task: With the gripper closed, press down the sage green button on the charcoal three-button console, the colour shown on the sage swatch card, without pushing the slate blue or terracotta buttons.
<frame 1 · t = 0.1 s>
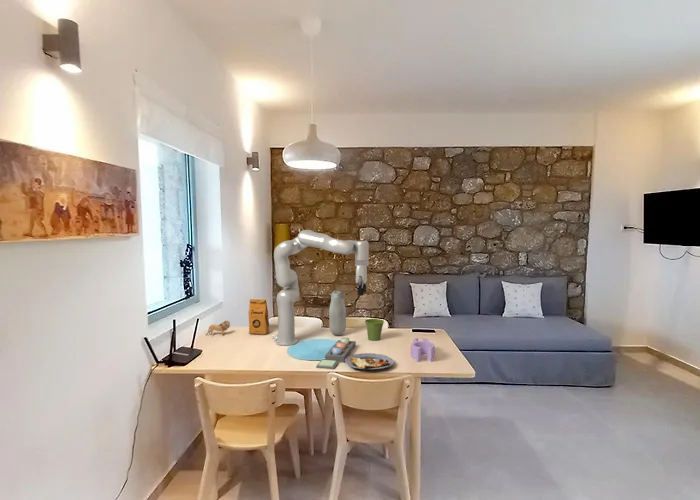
hand: (361, 293, 243), 31 cm above the table, tool pointing down, fingers open, 9 cm apart
sage button: (345, 342, 244), point 3 cm above the table, slide at 0.0 cm
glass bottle: (337, 335, 272), on the table
food plate: (369, 365, 218), on the table
lion figurine: (218, 335, 271), on the table
prompt card: (327, 365, 217), on the table
terracotta button: (341, 346, 235), point 3 cm above the table, slide at 0.0 cm
plant pot: (374, 339, 263), on the table
slate button: (337, 352, 227), point 3 cm above the table, slide at 0.0 cm
coffee package: (259, 333, 275), on the table
button panel: (341, 353, 236), on the table
clip: (422, 356, 232), on the table
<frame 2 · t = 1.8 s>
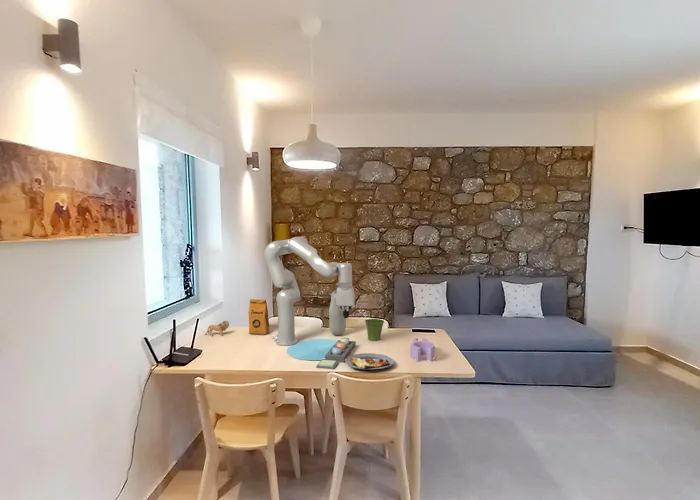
hand: (346, 317, 243), 18 cm above the table, tool pointing down, fingers closed
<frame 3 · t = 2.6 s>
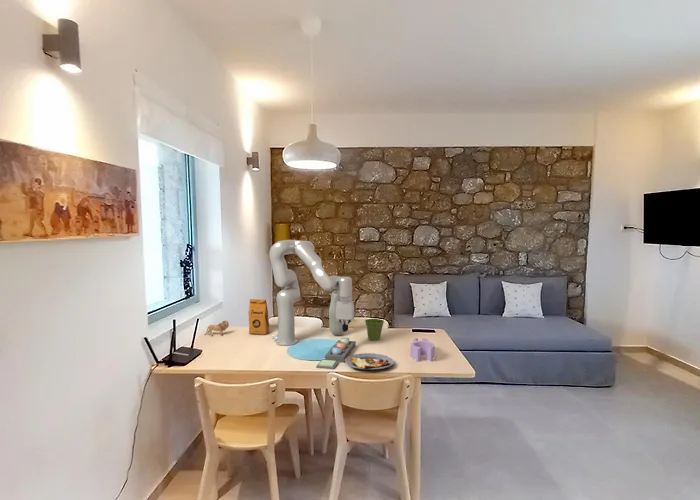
hand: (345, 331, 244), 10 cm above the table, tool pointing down, fingers closed
nothing on the table moved.
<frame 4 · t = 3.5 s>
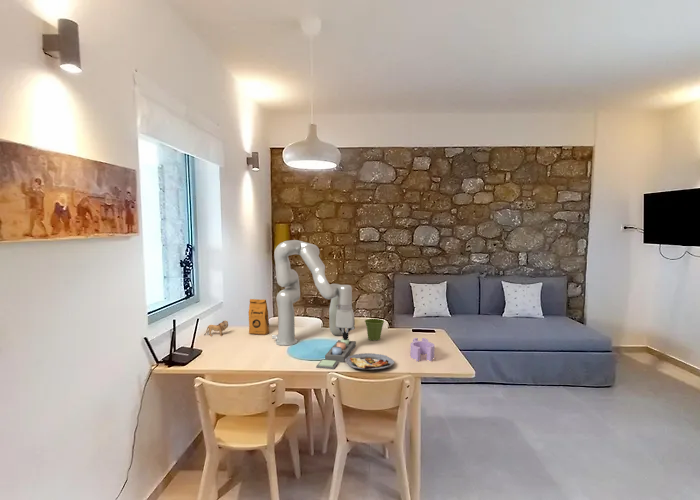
hand: (345, 339, 244), 5 cm above the table, tool pointing down, fingers closed
sage button: (345, 342, 244), point 3 cm above the table, slide at 0.4 cm, touching gripper
everything else where it was.
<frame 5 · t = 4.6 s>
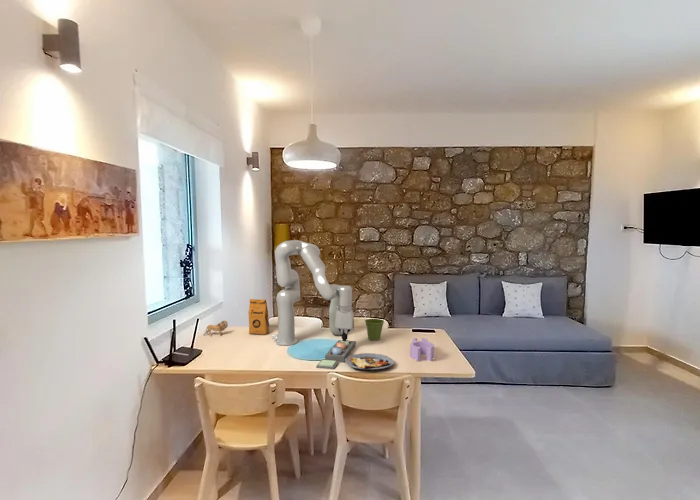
hand: (344, 340, 244), 5 cm above the table, tool pointing down, fingers closed
sage button: (345, 344, 244), point 2 cm above the table, slide at 1.3 cm
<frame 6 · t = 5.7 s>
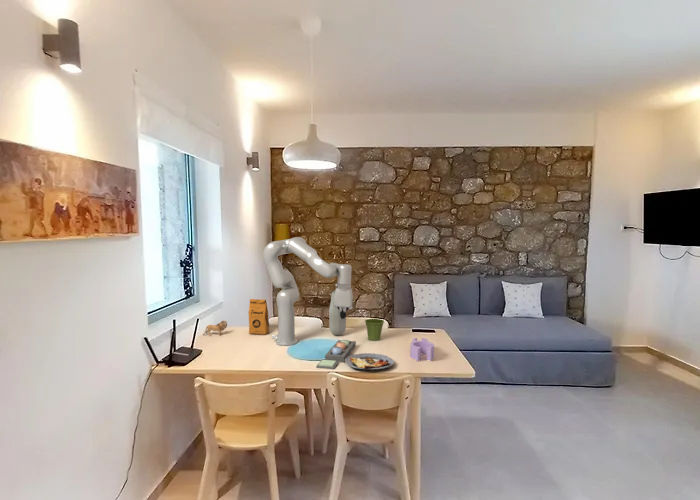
hand: (342, 318, 246), 16 cm above the table, tool pointing down, fingers closed
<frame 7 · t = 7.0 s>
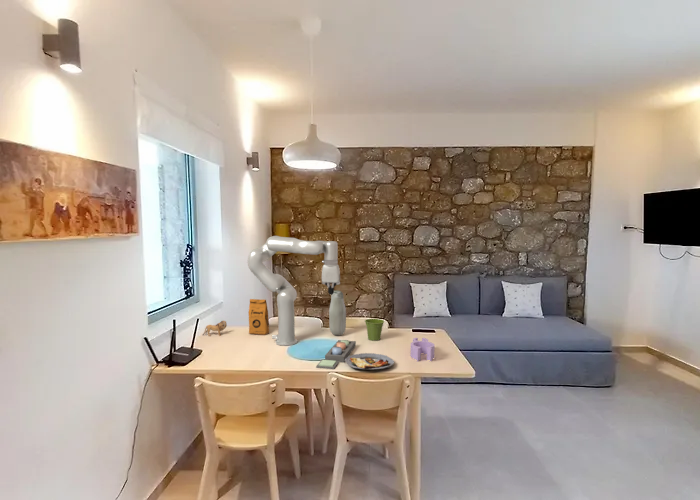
hand: (331, 294, 251), 29 cm above the table, tool pointing down, fingers closed
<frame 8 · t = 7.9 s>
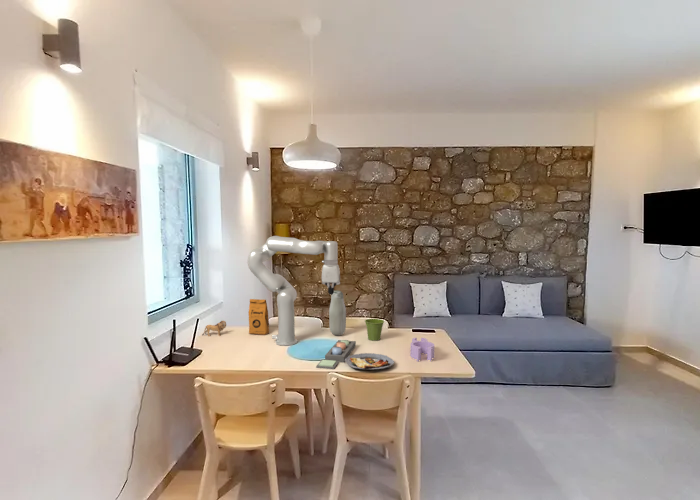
hand: (331, 294, 251), 29 cm above the table, tool pointing down, fingers closed
at the end: sage button slide at 1.3 cm; terracotta button slide at 0.0 cm; slate button slide at 0.0 cm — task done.
